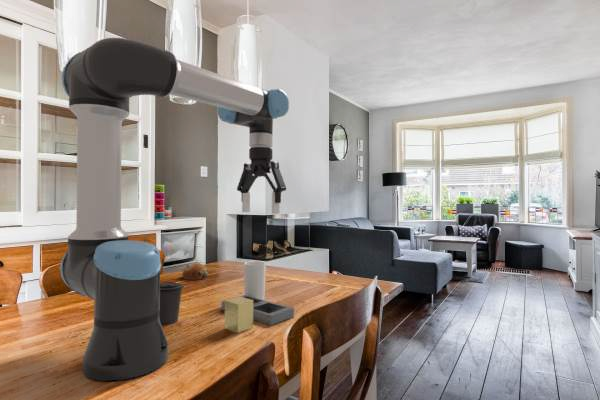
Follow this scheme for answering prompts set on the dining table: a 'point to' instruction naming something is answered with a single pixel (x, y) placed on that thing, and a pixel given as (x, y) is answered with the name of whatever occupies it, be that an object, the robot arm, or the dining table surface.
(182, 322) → the dining table surface
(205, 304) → the dining table surface
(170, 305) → the coffee cup
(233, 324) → the pale yellow block
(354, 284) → the dining table surface
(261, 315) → the grey flat frame
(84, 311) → the dining table surface
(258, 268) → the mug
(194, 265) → the bread roll
